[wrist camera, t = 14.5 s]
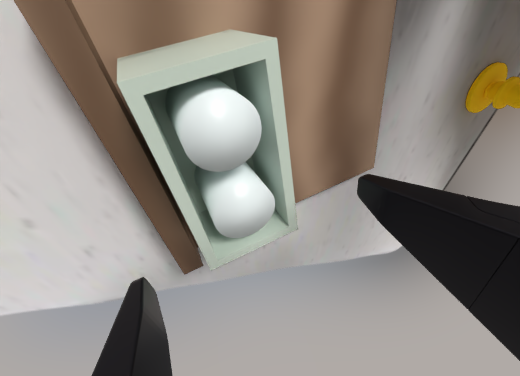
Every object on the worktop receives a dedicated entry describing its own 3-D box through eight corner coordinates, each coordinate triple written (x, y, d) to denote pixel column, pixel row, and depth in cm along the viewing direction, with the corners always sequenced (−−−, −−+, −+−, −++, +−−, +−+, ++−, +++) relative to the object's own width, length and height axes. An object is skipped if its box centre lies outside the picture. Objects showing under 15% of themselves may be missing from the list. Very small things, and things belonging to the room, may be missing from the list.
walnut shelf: (392, -87, 15) (442, -105, 13) (365, 162, 27) (389, 177, 24) (20, -24, 11) (-7, -33, 8) (177, 245, 22) (184, 274, 20)
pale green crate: (230, 29, 14) (276, 37, 10) (262, 185, 21) (297, 228, 17) (117, 58, 13) (116, 82, 8) (191, 215, 19) (211, 270, 15)
